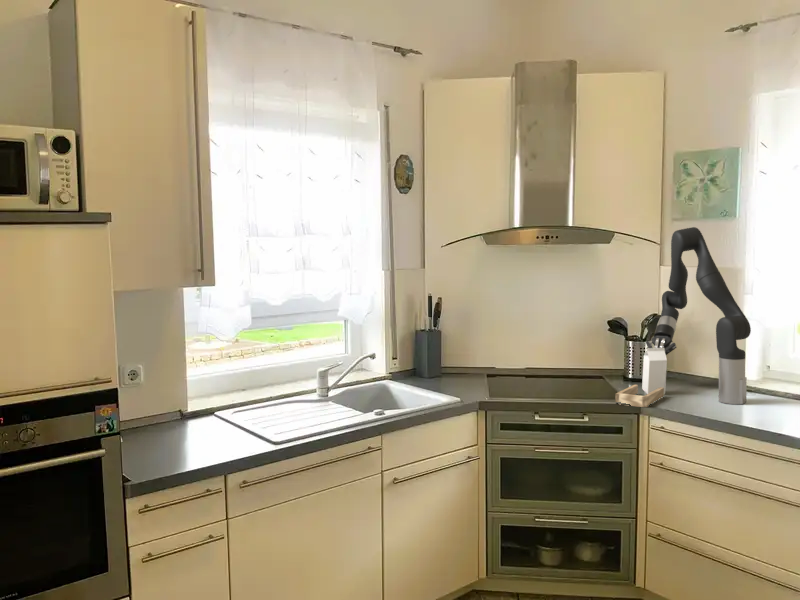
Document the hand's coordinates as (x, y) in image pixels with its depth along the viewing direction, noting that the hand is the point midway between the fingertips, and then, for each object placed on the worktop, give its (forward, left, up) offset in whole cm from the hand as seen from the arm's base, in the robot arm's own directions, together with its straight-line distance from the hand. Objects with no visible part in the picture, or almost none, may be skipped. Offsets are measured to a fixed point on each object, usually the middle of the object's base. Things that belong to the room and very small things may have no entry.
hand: (655, 361), depth 284 cm
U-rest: (0, +19, -13) cm, 23 cm away
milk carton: (0, +3, -13) cm, 13 cm away
